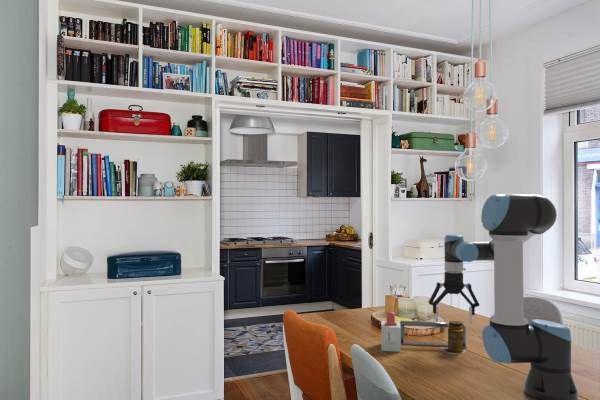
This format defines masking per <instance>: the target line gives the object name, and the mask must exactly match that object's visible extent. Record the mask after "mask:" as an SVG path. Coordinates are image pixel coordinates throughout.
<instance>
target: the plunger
mask: <svg viewBox="0 0 600 400" xmlns="http://www.w3.org/2000/svg"><path fill="white" fill-rule="evenodd" d="M385 321H386V326H395V322H396V311H395V312H394V311H387V312H386V320H385Z"/></svg>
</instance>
